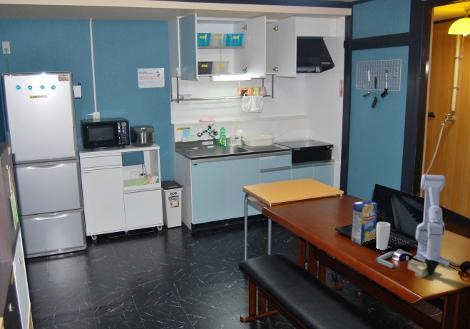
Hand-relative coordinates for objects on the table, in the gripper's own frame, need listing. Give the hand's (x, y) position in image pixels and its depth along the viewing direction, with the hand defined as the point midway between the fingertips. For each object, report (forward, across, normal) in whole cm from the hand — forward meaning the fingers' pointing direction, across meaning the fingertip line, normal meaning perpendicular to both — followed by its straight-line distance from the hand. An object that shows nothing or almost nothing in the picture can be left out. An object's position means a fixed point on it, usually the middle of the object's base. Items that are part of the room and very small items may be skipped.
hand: (431, 274), depth 208 cm
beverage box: (+1, -45, +9) cm, 46 cm away
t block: (+1, -6, 0) cm, 6 cm away
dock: (+1, -21, 0) cm, 21 cm away
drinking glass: (+1, -31, +6) cm, 32 cm away
